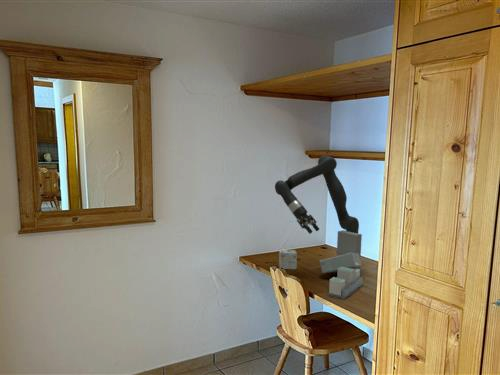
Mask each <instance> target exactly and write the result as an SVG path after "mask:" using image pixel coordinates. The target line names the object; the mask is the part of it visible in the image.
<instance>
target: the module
mask: <svg viewBox="0 0 500 375" xmlns="http://www.w3.org/2000/svg"><path fill="white" fill-rule="evenodd" d="M336 272H337V276H336V278H340V279H344V280H345V288H346V287H347V286H349V285H350V284H352V283H353V273H354V269H351V268H346V267H340V268H338V271H336Z"/></svg>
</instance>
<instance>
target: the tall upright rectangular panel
mask: <svg viewBox="0 0 500 375" xmlns="http://www.w3.org/2000/svg"><path fill="white" fill-rule="evenodd" d="M336 240H337V242H336V256H340V255H344V254H348V253H359V256H360V259H361V256H362V253H361V252H362V234H361V233H359V232H358V233H353V232H348V231H346V230H344V229H343V230H338V231H337V238H336ZM353 268H355V269H360V270H361V266H357V267H353ZM360 275H361V271H360Z"/></svg>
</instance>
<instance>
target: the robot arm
mask: <svg viewBox="0 0 500 375" xmlns="http://www.w3.org/2000/svg"><path fill="white" fill-rule="evenodd" d="M336 167H337V160H336V159H335V158H334V157H332V156H330V155H326V154H323V155H320V156H319V158H318V160H317V164H316V165H315V166H313V167H309V168H307V169H303V170H301V171H299V172H296V173H294V174H292V175H290V176H289V177H288V179H286V180H278V181H276V182H275V184H274V188H275V189H274V190H275V193H277V195H279V196H281V197H282V201H283V202H284V204H286V206H287V207H288V209H289V211H290V212H291V214H293V216H294V218H295V220H296V222H297V223H298V225H299V226H300V227H301V229H305V230H306V231H307V233H308V234H312V233H313V230H312V229H311V228H310V226H312V228H313V229H314V230H315V231H316V232H318V231H320V228H319V227H318V225H317V220H316V219H315V218H314V216H312V214H309V215H308V214H307V213H308V210H307V209H306V208H305V206H304V205H303V204H302V203H301V201H300V200H299V199H298V198H297V197H296V196H295V194H294V193H293V192H292V190H293V189H294V188H296V187H298V186H300V185H302V184H304V183H306V182H308V181H310V180H312V179H314V178H317V177H319V176H323V177H324V178H323V179H324V181H325V185H326V187H327V190H328V192H329V195H330V198H331V201H332V203H333V207H334V210H335V212H336V214H337V219H338V222H339V226H340V228H342V229H343V230H344V231H348V232H353V233H358V234H359V229H360V228H359V227H360V223H359V220H358V218H356V217H355V216H352V215H351V216H350V214H349V212H348V209H347V201H348V200H347V199H348V197H347V193H346V191H345V188H344V186H343V184H342V182H341V180H340V179H339V178H338V176H337V175H336V174H337V173H336V172H335V170H336Z"/></svg>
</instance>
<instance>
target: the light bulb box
mask: <svg viewBox="0 0 500 375" xmlns="http://www.w3.org/2000/svg"><path fill="white" fill-rule="evenodd" d="M297 254H298V253H297V250H295V249H279V252H278V257H279V258H278V267H279V269H280V268H283V269H282V270H297V268H298V267H297V263H298V262H297V260H298V258H297V257H298V255H297Z"/></svg>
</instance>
